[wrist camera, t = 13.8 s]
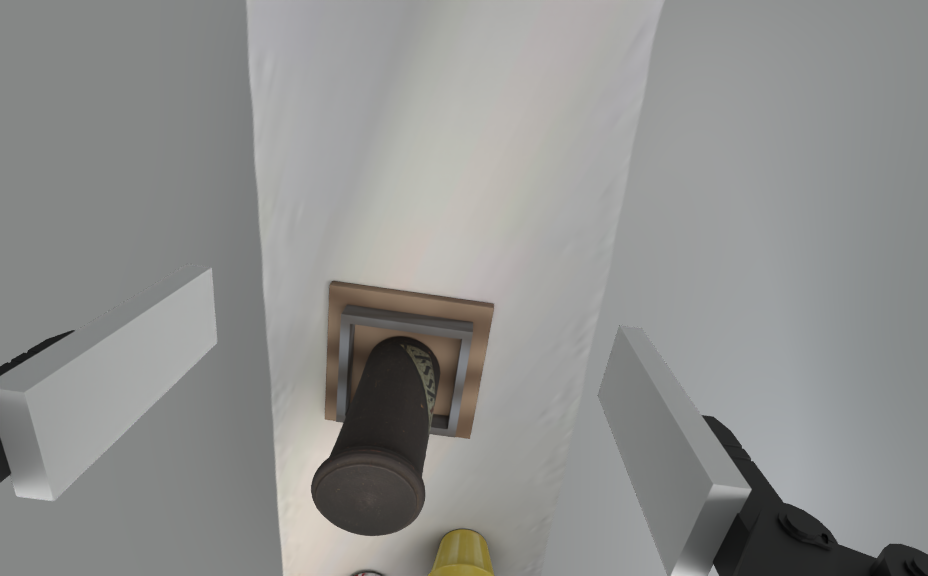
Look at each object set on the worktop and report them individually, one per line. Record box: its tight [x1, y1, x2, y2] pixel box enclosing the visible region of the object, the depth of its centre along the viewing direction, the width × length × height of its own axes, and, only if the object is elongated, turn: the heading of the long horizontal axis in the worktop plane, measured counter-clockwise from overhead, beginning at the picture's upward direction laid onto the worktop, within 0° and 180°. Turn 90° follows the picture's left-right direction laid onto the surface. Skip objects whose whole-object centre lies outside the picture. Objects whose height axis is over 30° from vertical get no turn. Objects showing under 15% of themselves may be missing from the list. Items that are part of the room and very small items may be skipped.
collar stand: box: [325, 281, 494, 439], centre depth 54 cm, size 18×18×4 cm
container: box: [311, 337, 441, 536], centre depth 45 cm, size 9×9×20 cm
